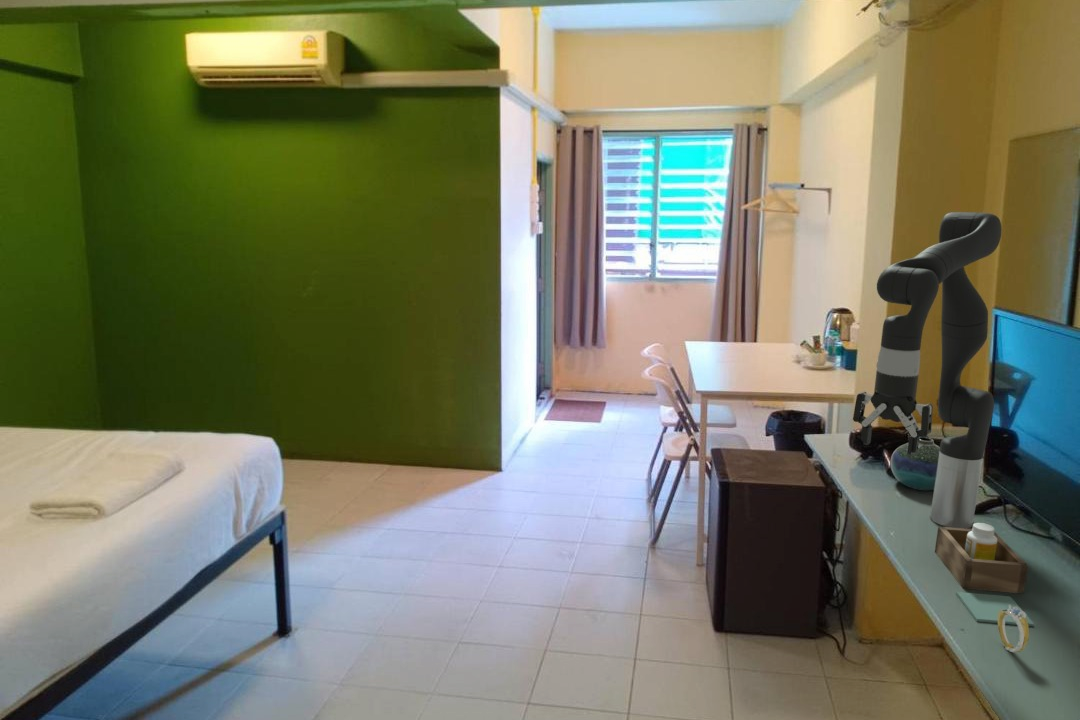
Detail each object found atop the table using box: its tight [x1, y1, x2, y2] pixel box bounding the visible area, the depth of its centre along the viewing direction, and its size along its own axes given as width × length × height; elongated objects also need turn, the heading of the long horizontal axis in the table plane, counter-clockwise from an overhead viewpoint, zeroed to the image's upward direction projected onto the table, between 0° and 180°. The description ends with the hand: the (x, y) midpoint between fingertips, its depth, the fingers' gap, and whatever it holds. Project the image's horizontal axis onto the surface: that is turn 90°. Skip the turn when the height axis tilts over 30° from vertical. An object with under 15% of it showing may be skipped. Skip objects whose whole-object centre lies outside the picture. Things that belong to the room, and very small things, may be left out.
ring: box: [997, 605, 1030, 653], centre depth 137 cm, size 7×3×8 cm, turn 175°
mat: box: [955, 591, 1035, 627], centre depth 151 cm, size 10×10×1 cm
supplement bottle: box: [965, 522, 997, 561], centre depth 165 cm, size 6×6×10 cm
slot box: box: [934, 526, 1029, 594], centre depth 166 cm, size 16×11×6 cm
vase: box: [890, 436, 940, 491], centre depth 212 cm, size 15×15×13 cm
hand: (888, 448), depth 158 cm, fingers open, 8 cm apart
